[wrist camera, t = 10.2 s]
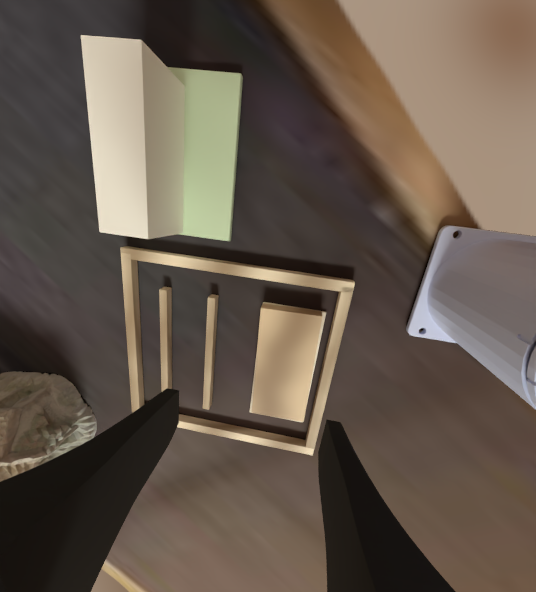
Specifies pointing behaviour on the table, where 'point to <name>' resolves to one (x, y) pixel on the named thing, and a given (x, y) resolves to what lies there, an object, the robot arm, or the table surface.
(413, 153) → the table surface
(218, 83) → the mat
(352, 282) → the rack
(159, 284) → the table surface
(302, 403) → the offcut upper
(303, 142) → the table surface
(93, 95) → the tall cream block
